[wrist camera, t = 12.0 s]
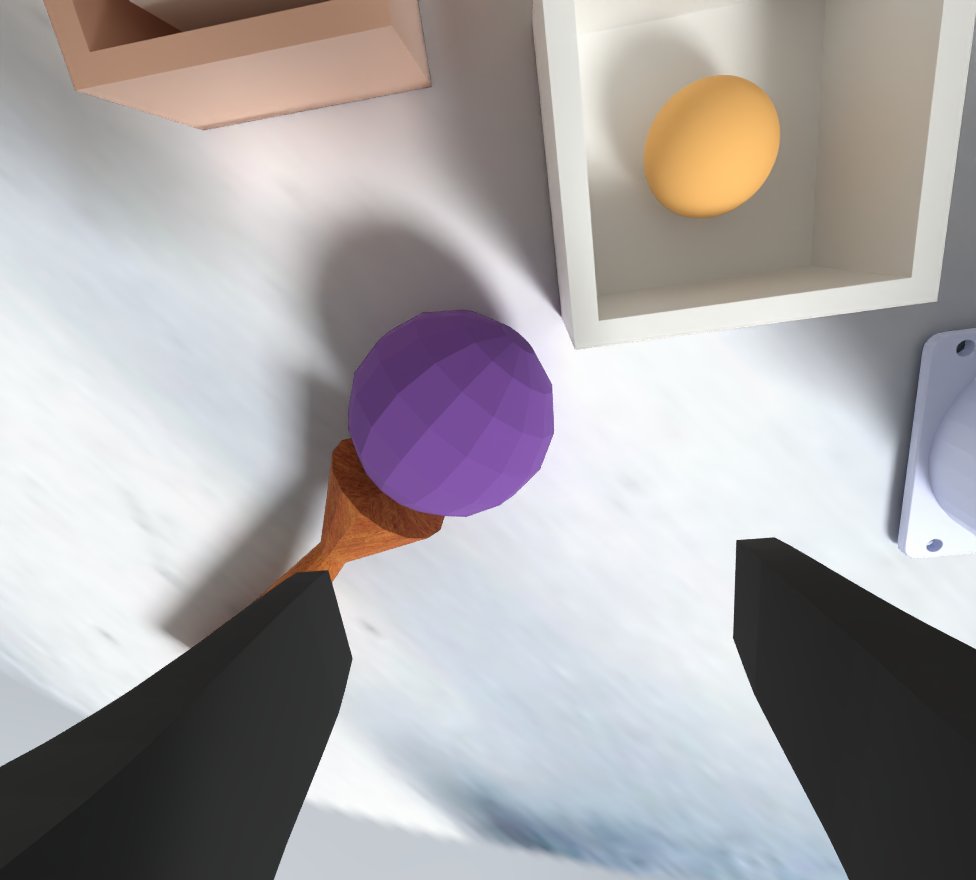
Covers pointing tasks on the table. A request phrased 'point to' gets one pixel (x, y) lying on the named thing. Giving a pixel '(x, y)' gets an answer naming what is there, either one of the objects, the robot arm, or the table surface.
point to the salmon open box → (242, 58)
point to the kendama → (432, 435)
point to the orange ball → (711, 146)
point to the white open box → (792, 181)
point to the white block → (214, 10)
